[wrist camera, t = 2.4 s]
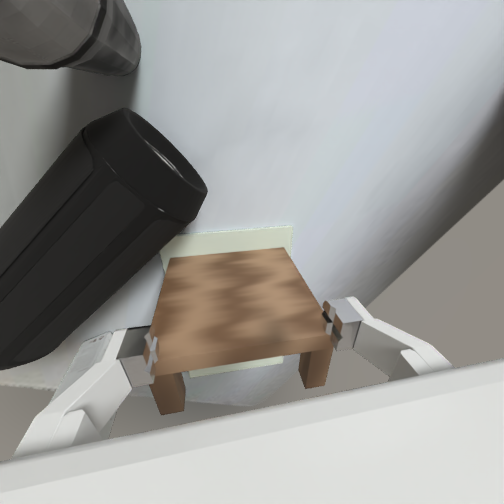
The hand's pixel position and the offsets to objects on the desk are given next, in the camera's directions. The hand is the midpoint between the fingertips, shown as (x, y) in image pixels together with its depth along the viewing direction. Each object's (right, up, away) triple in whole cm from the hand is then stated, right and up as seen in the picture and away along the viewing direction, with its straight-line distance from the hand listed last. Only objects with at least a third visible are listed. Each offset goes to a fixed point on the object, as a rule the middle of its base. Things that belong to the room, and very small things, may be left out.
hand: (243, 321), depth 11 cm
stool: (-2, 0, +19) cm, 19 cm away
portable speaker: (-17, +6, +14) cm, 23 cm away
